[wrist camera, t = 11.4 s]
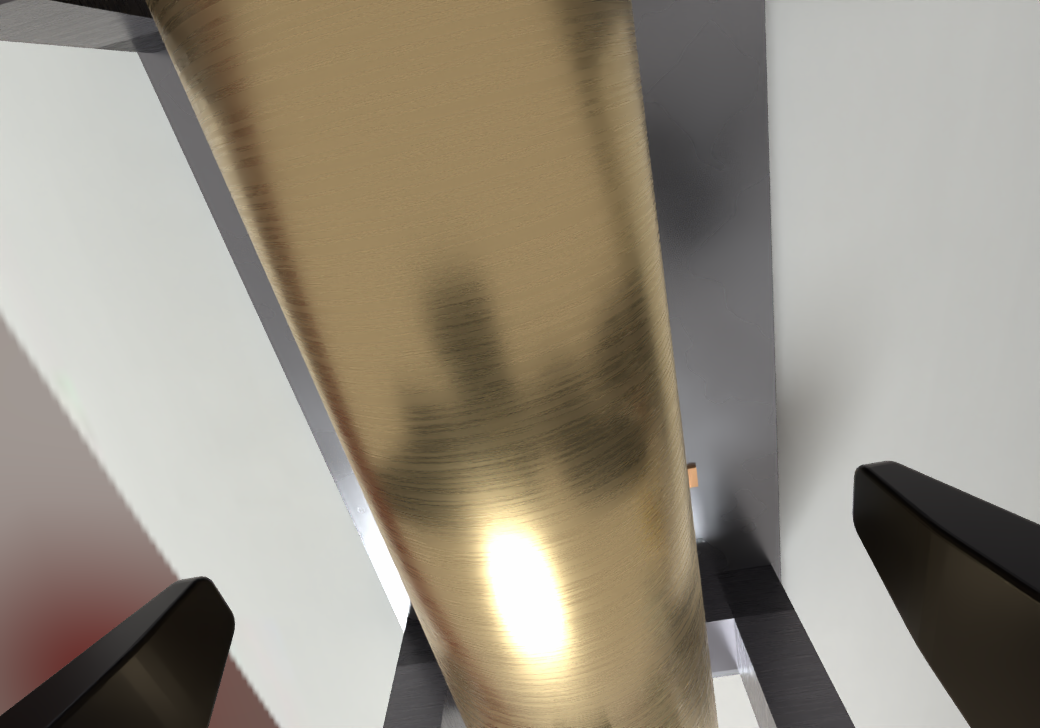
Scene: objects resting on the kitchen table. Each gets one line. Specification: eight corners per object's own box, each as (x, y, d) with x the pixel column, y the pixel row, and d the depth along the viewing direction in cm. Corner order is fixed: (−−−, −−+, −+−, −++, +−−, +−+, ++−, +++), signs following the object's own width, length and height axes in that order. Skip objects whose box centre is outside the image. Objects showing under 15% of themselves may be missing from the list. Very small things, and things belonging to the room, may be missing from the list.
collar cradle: (35, -249, 9) (-542, -643, 4) (724, -487, 8) (1043, -1408, 3) (445, 685, 19) (418, 888, 15) (770, 639, 18) (861, 843, 13)
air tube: (127, -323, 7) (-578, -1106, 2) (524, -451, 7) (575, -1651, 2) (522, 735, 16) (530, 981, 12) (693, 705, 16) (769, 948, 12)
